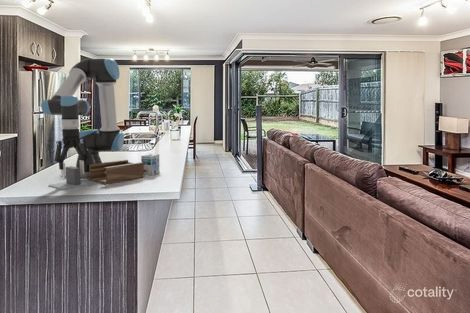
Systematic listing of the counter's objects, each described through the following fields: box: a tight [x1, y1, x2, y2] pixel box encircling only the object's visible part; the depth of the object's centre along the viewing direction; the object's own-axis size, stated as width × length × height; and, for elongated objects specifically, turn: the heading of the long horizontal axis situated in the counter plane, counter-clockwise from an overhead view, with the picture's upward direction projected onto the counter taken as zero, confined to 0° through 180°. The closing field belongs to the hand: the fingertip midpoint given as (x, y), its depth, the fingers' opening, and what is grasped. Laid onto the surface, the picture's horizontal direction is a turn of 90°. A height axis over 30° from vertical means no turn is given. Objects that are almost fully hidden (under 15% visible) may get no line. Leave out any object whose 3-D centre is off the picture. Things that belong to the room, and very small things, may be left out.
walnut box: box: [89, 159, 145, 185], centre depth 204 cm, size 16×22×8 cm
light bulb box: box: [140, 153, 160, 176], centre depth 220 cm, size 11×7×11 cm, turn 168°
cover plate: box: [48, 165, 99, 191], centre depth 189 cm, size 13×18×9 cm
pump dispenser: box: [75, 149, 95, 179], centre depth 209 cm, size 10×10×15 cm
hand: (73, 174), depth 189 cm, fingers open, 9 cm apart
